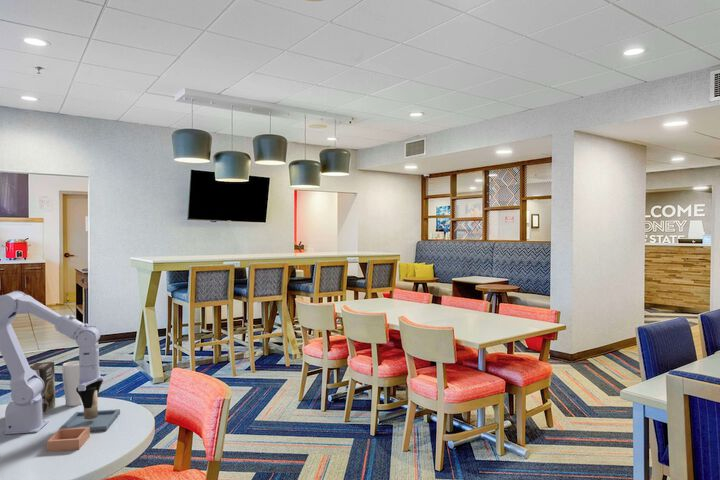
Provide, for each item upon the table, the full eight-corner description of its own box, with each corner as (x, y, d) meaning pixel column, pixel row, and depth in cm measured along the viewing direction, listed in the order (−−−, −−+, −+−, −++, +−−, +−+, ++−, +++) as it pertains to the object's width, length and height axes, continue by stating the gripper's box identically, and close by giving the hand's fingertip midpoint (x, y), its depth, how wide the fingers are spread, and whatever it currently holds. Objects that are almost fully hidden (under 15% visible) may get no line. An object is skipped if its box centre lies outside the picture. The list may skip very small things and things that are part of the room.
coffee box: (44, 415, 171) (43, 369, 171) (24, 416, 170) (22, 369, 170) (56, 405, 180) (55, 361, 180) (36, 406, 179) (35, 362, 179)
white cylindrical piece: (89, 401, 185) (87, 360, 184) (76, 408, 178) (75, 366, 177) (71, 400, 185) (70, 360, 185) (59, 407, 179) (57, 365, 178)
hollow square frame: (47, 451, 145) (46, 441, 145) (59, 438, 154) (59, 429, 153) (79, 449, 147) (78, 439, 146) (89, 436, 155) (89, 427, 155)
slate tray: (58, 433, 157) (58, 429, 157) (76, 416, 171) (76, 411, 171) (106, 430, 159) (106, 426, 159) (120, 413, 173) (120, 409, 173)
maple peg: (82, 419, 163) (81, 394, 162) (86, 415, 167) (86, 389, 166) (95, 419, 163) (94, 393, 163) (99, 414, 167) (99, 389, 167)
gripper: (94, 370, 158) (95, 413, 158) (109, 357, 172) (110, 396, 173) (70, 371, 156) (71, 414, 157) (87, 358, 171) (88, 397, 171)
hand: (90, 405), depth 165 cm, fingers closed on maple peg, 4 cm apart
